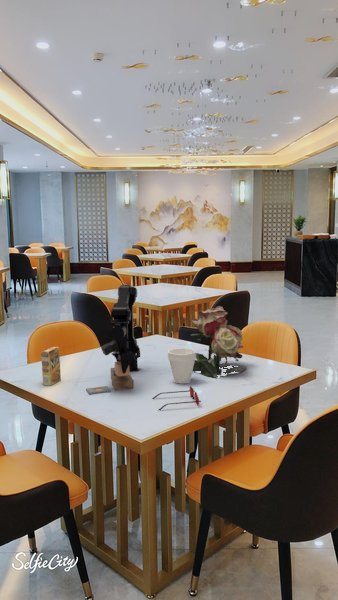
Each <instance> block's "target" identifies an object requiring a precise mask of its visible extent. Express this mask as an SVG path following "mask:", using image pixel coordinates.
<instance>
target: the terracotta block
mask: <svg viewBox="0 0 338 600" xmlns="http://www.w3.org/2000/svg"><path fill="white" fill-rule="evenodd" d="M114 368H115V374H116V375H117V376H125V375H130V371H129V366H128V368H127V370H126V373H122V368H121V362H120V361H119V362H117V361H114Z"/></svg>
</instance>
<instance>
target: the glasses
mask: <svg viewBox="0 0 338 600" xmlns="http://www.w3.org/2000/svg"><path fill="white" fill-rule="evenodd" d="M194 389H195V388H194V387H192V385H190V386H189V390H181V391H180V390H179V391H178V390H177V391H168V392H160V393H158V394H155V396H153V397H152V398H151V399H152V400H154V399H156V398H157V397H158V396H160V395H162V394H173V393H174V394H175V393H186V392H187V393H188V392H189V395H190V396H189V397H190V398H192V400H194V401H184V402H183V401H182V402H171V403H165V404H164V405H163V406H161V407H160V408H158V410H160V411H161V410H162V409H163V408H165V407H166V406H168V405H178V404H179V405H180V404H189V403H195V404H197V405H196V406H199V404H200V403H201V402H202V401H201V400H200V399H199V396H198V393H197V391H195V390H194Z"/></svg>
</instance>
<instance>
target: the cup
mask: <svg viewBox="0 0 338 600" xmlns="http://www.w3.org/2000/svg"><path fill="white" fill-rule="evenodd" d="M196 353H197V351H196V350H195V349H193V348H189V347H177V348H176V347H175V348H172V349H169V350H167V358H168V361H169V366H170V369H171V373H172V378H173V381H175V382H176V383H175V382H174V383H175V384H177V383H187V384H189V383H191V379H192V375H193V372H192V371H193V366H194V362H195V360H197V359H196ZM188 382H189V383H188Z"/></svg>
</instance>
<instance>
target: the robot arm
mask: <svg viewBox="0 0 338 600" xmlns="http://www.w3.org/2000/svg"><path fill="white" fill-rule="evenodd" d="M117 296H118V297H117V298H118V299H117V302H115V303H114V304H113V306H112V308H111V309H110V318H109V319H110V321H109V324H110V325H113V327H112V328H111V330H110V332H109V334H110V335H109V337H110V338H111V339H112V341H110V342H108V343H105V344H103V345H101V346H100V348H101V352H102V353H103V354H104V356H109V355H110V354H111V355H112V356H113V357H114V358H115V360H116V361H115V362H119V361H120V362H121V368H122V373H126V370H127V368H128V366H129V372H134V371H135V372H136V371H139V370H140V369H139V368H138V358H141V348H140V347H139V345H138V339H136V337H135V336H134V333H135V331H134V304H135V302H136V300H137V297H138V289H137V287H135V286H133V285H131V284H121V285H119V286H118V288H117Z"/></svg>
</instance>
